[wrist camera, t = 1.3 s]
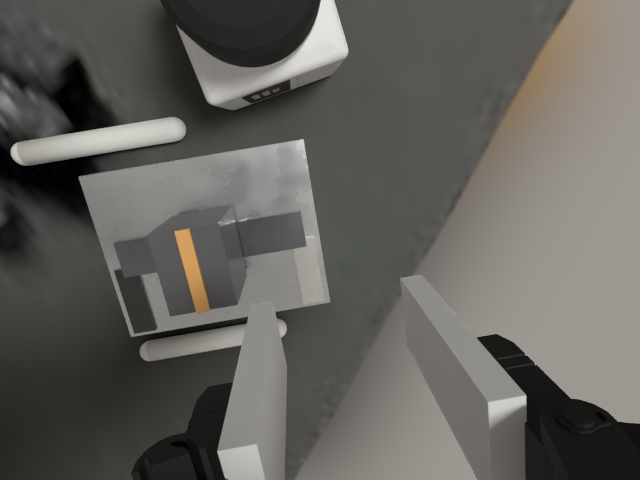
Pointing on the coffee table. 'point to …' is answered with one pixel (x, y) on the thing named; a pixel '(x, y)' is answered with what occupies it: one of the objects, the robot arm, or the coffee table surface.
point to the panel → (205, 194)
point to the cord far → (197, 342)
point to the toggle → (199, 261)
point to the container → (258, 45)
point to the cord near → (98, 141)
